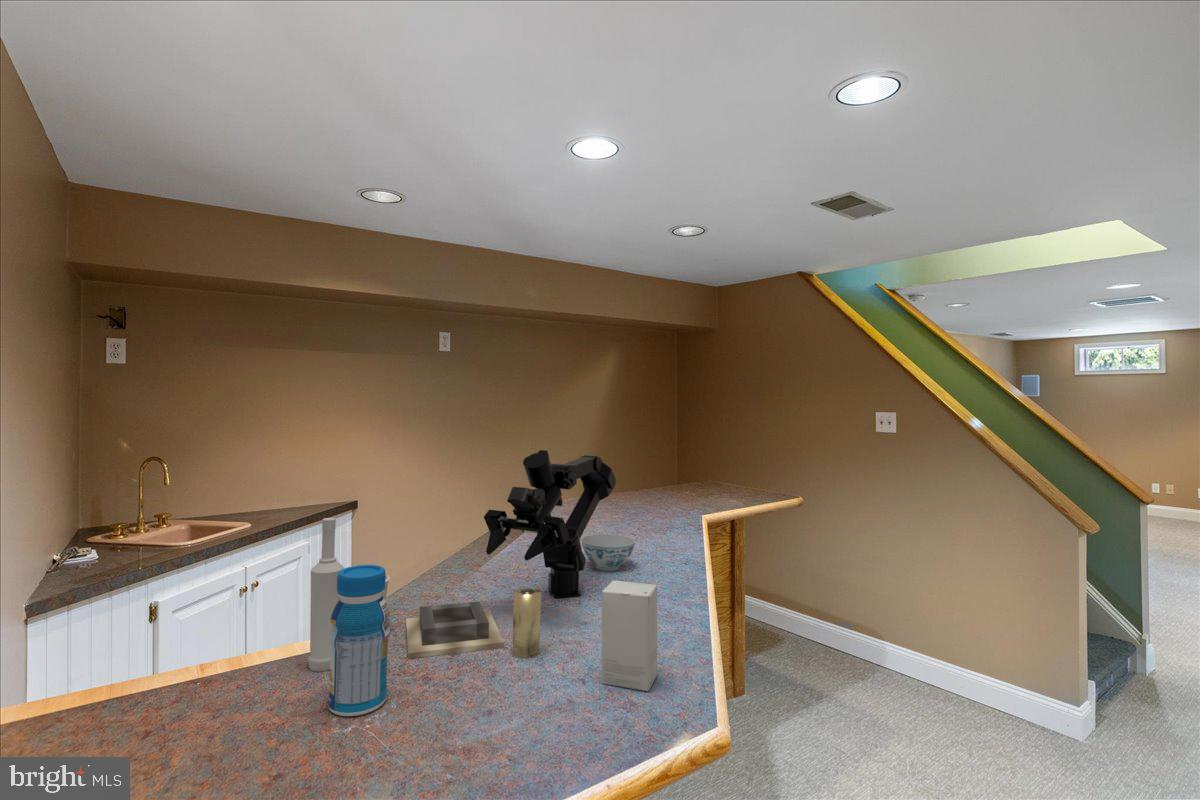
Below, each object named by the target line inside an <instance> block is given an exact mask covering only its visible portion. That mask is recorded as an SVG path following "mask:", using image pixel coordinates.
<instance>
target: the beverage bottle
mask: <svg viewBox="0 0 1200 800" xmlns="http://www.w3.org/2000/svg"><path fill="white" fill-rule="evenodd" d="M386 574H387V572H386V569H385V567H383V566H380V565H377V564H358V565H352V566H348V567H344V569H342V570H341V571H339V573H338V576H337V593H338V596H340V597H341V598H340V600H339V601H338V603H337V604H336V606H335V608H334V610H333V612H332V615H331V623H332V625H333V628H332V629H331V631H330V634H329V643H330V646H331V651H330V670H329V689H328V690H329V692H328V697H327V698H328V699H327V700H328V702H327V705H328V707H327V708H328V709H329V710H330V712H332V713H333V714H335V715H336V716H341V717H358V716H362V715H365V714H369V713H371V712H373V711H376V710H377V709H379V708H380V707H381V706H383V704H384V703H385V702H386V700H387V697H388V686H387V685H388V684H387V680H388V679H387V672H388V648H389V646H388V645H389V638H390V634H391V627H390V624H389V622H388V619H389V617H390V608H389V605H388V602H387V601H386V600H385V599H384V598H383V596H382V595H381V593H382V592H383V591H384V589H385V578H386Z"/></svg>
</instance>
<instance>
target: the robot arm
mask: <svg viewBox="0 0 1200 800" xmlns="http://www.w3.org/2000/svg"><path fill="white" fill-rule="evenodd" d="M522 464H523V467H524V468H523V469H524V471H525V473H526V477H527V480H528V483H529V486H530V487H532V488H529V487H523V486H521V487H520V486H512V488H511V490H510V493H509V495H508V497H507V503H508V504H509V503H510V505H511V506H512V507H513V510H512V513H513V515H514V516H516V517H515V518H514V517H508V515H507V512H506V511H505V510H496V509H488V510H487V511H486V514H484V516H483V519H484V522H485V524H486V527H487V528H488V531H489V538H488V541H487V546H486V550H485V553H486V554H487V555H488V556H490V555H491V554H492V553H494V552H495V551H496V550H497V549H498V548H499V547H500V546H501V545H502V544H503V543H504V542H505V541H506V540H507V537H508V536H509V535H510V534H511V531H512V530H517V531H518V530H519V531H521V532H522V533H528V534H536V536H535V537H534V539H533V541H532V543H531V544H530V545H529V547H528V549H527V550H526V552H525V555H524V557H523V558H524V561H530V560H531V559H533V558H535V557H536V556H539V555H541V554H542V555H543V560H544V567H545V568H547V569H548V568H550V572H549V573H548V576H547V577H548V584H547V586H548V587H547V590H548V591H549V592H550V594H551V595H552V596H553V597H554V598H555V599H557V598H558V599H559V598H561V599H562V598H569V597H579V596H581V595H582V594H581V592H580V591H579V590H580V589H579V587H580V586H579V584H580V583H579V582H580V580H579V579H580V572H581V571H584V569H585V566H586V560H587V558H586V557H585V556H586V555H585V554H584V553H583V552H584V551H582V549H583V548H582V543H581V539H582V536H583V533H584V531H585V530H586V527H587V526H588V524H589V522H590V520H591V518H592V516H593V515H594V512H595V510H596V509H597V508H598V507H597V506H598V504H599V503H600V501H603V500H604V499H606V498H608V497H609V496H610V494H611V493H613V490H614V489H615V487H616V484H617V479H616V476H615V473H614V472H613V469H612V468H611V467H610V466H609V465H608V464H606V463H604V462H603V461H602V457H600V456H598V455H587V454H585V455H581V457H578V458H576V459H574V460H571V461H568V462H566V463H551V460H550V455H549V451H548V450H545V449H542V450H541V449H539V450H538V451H537V452H534V453H532V454H530V455H528V456H525V458H524V459H523V461H522ZM578 479H580V481H581V483H582V486H583V492H582V493H581V495H580V497H579V499H578V500H577V502H576V504H575V506H574V507H573V510H572V511H571V513H570V515H569V516H568V519H566V522H565V520H564V518H563V517H560V516H559V517H558V516H552V514H551V513H552V512H553V510H554V508H555V507H556V506H557V507H562V506H563V499H562V495H563V494H562V490H569V491H570V490H571V489H573V488H574V487H575V486H576V485H577V480H578ZM533 488H534V489H533Z"/></svg>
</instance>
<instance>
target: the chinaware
mask: <svg viewBox="0 0 1200 800" xmlns="http://www.w3.org/2000/svg"><path fill="white" fill-rule="evenodd" d="M635 544H636V540H635V539H634V538H632V537H629V536H627V535H621V534H616V533H613V534H611V533H599V534H598V533H597V534H590V535H586V536H583V537H581V546H582V549H583V552H584V553H585V554H584V555H585V556H586V557H587V558H588V560H589V561H590V562H591V563H592V564H594V565H595V569H598V571H599V570H600V571H604V572H605V571H606V572H612V571H618V570H619V569H620V568H621V565H623V564H624V563H625V562H627V560H628V559H629V558H630V557H631V556H632V553H633V551H634V549H635Z"/></svg>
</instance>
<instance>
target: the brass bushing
mask: <svg viewBox="0 0 1200 800" xmlns="http://www.w3.org/2000/svg"><path fill="white" fill-rule="evenodd" d="M512 611H513V612H512V613H513V615H512V642H511V643H512V644H511V645H512V646H511V647H512V648H511V650H512V651H511V653H512V655H513V656H515V657H516V658H519V659H521V658H522V659H530V658H534V657H536V656H538V655H539V654H540V652H541V651H540V648H541V646H540V645H541V620H542V619H541V616H542V613H541V612H542V591H541V590H540V589H539V588H535V587H520V588H518V589H515V590H514V591H513V610H512Z"/></svg>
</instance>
